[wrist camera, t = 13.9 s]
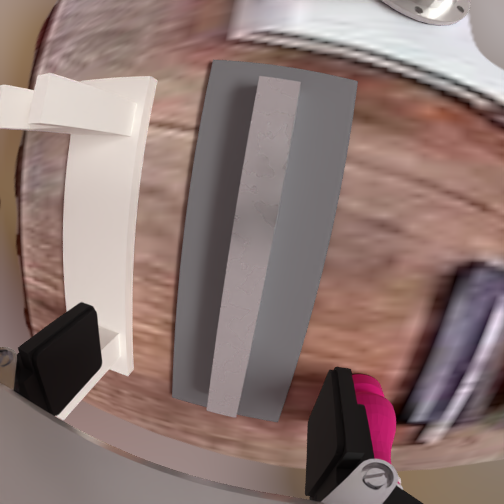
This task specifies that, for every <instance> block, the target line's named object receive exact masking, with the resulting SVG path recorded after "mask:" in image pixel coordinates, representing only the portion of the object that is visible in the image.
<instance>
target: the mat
mask: <svg viewBox="0 0 504 504" xmlns="http://www.w3.org/2000/svg"><path fill="white" fill-rule="evenodd" d="M259 76H265V77H272V78H279V79H286V80H292V81H298V82H301V86H300V95H299V101H298V106H297V112H296V118H295V124H294V130H293V135H292V141H291V147H290V152H289V158H288V163H287V169H286V175H285V180H284V185H283V191H282V196H281V202H280V207H279V212H278V218H277V223H276V228H275V233H274V239H273V244H272V249H271V254H270V259H269V264H268V270H267V275H266V280H265V285H264V290H263V295H262V300H261V305H260V310H259V314H258V319H257V324H256V329H255V334H254V339H253V344H252V348H251V353H250V358H249V363H248V367H247V372H246V377H245V381H244V386H243V391H242V395H241V400H240V404H239V408H238V412H237V414H238V415H242V416H247V417H252V418H257V419H262V420H268V421H273V422H278V420H279V417H280V414H281V411H282V408H283V405H284V402H285V399H286V396H287V393H288V390H289V387H290V384H291V381H292V378H293V375H294V371H295V368H296V365H297V362H298V358H299V355H300V352H301V348H302V345H303V342H304V338H305V335H306V331H307V328H308V324H309V320H310V317H311V313H312V309H313V306H314V302H315V298H316V294H317V291H318V287H319V283H320V279H321V275H322V271H323V267H324V262H325V258H326V254H327V250H328V245H329V241H330V237H331V232H332V228H333V223H334V218H335V214H336V209H337V204H338V199H339V194H340V189H341V184H342V179H343V173H344V168H345V162H346V156H347V151H348V145H349V139H350V132H351V126H352V119H353V113H354V106H355V98H356V91H357V83H358V81H354V80H350V79H346V78H342V77H337V76H333V75H328V74H324V73H319V72H313V71H308V70H302V69H296V68H290V67H284V66H276V65H269V64H260V63H251V62H240V61H227V60H213V63H212V68H211V72H210V77H209V82H208V87H207V91H206V96H205V102H204V107H203V112H202V117H201V123H200V128H199V134H198V140H197V146H196V152H195V158H194V164H193V170H192V177H191V184H190V191H189V198H188V205H187V213H186V221H185V229H184V237H183V246H182V256H181V265H180V276H179V287H178V298H177V311H176V326H175V342H174V362H173V389H172V397H173V398H176V399H179V400H183V401H186V402H190V403H193V404H197V405H201V406H204V407H207V404H208V396H209V388H210V380H211V373H212V365H213V358H214V351H215V343H216V336H217V329H218V322H219V315H220V308H221V301H222V295H223V288H224V281H225V275H226V268H227V262H228V255H229V249H230V242H231V236H232V230H233V224H234V217H235V211H236V205H237V199H238V193H239V187H240V181H241V175H242V170H243V164H244V158H245V152H246V147H247V141H248V135H249V130H250V124H251V119H252V113H253V108H254V102H255V97H256V92H257V86H258V81H259Z"/></svg>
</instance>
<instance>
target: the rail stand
mask: <svg viewBox="0 0 504 504" xmlns="http://www.w3.org/2000/svg"><path fill="white" fill-rule="evenodd" d="M157 81H158V80H156V79H154V78H153V77H151V76H138V77H118V78H105V79H94V80H85V81H81V82H78V81H75V80H72V79H69V78H66V77H63V76H59V75H56V74H53V73H47V74H43V75H38V77H37V81H36V85H35V90H30V89H25V88H20V87H15V86H9V85H0V129H12V130H29V131H43V132H55V133H65V134H71V137H70V144H69V152H68V160H67V169H66V180H65V194H64V213H63V266H64V286H65V300H66V310H67V311H69V310H70V309H71V308H73V307H74V306H76V305H77V304H78V303H80V302H83V303H86V304H89V305H91V306H93V307H94V309H95V311H96V312H97V317H98V328H99V338H100V347H101V355H102V366H101V368H100V369H99V371H98V372H97V373H96V374H95V375H94V376H93V377H92V378H91V379H90V380H89V382H88V383H87V384H86V385H85V386H84V387H83V388H82V389H81V390H80V392H79V393H78V394H77V395H76V396H75V397H74V398H73V399H72V400H71V402H70V403H69V404H68V405H67V406H66V407H65V408H64V410H63V411H62V412H61V413H60V414H59V415H57V417H59V418H61V419H62V420H64V419H65V418H66V417H67V416H68V415H69V414H70V412H71V411H72V410H73V409H74V408H75V407H76V406H77V404H78V403H79V402H80V401H81V400H82V399H83V398H84V397H85V395H86V394H87V393H88V392H89V391H90V390H91V389H92V388H93V386H94V385H95V384H96V383H97V382H98V381H99V380H100V379H101V377H102V376H103V375H104V374H105V373H106V372H107V371H108V370H109V369H110V370H113V371H115V372H118V373H121V374H123V375H126V376H129V374H130V373H131V372H132V371H133V369H134V365H133V337H132V291H133V262H134V244H135V230H136V218H137V207H138V197H139V188H140V180H141V172H142V165H143V157H144V151H145V144H146V138H147V132H148V126H149V121H150V115H151V110H152V105H153V100H154V95H155V90H156V86H157Z"/></svg>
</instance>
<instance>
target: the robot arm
mask: <svg viewBox="0 0 504 504" xmlns="http://www.w3.org/2000/svg"><path fill="white" fill-rule="evenodd" d="M381 1H383V2H384V3H385V4H387V5H389V6H390V7H392V8H393V9H395V10H396V11H398V12H400V13H402V14H404V15H406V16H408V17H410V18H413V19H415V20H418V21H421V22H425V23H428V24H433V25H451V24H454V23H457V22H458V21H460V20H461V19H463V18H464V17H465V16H466V15H467V13H468V11H469V9H470V0H381ZM18 350H19V353H18V354H16V353H15V351H14V350H12V349H11V348H8V347H0V504H423V503H421V502H420V501H418V500H417V499H415V498H414V497H412V496H411V495H410V494H408V493H407V492H405V491H404V490H402V489H401V488H400V487H398V486H397V483H398V474H397V471H396V470H395V468H394V467H393V466H392V465H391V464H390V463H388V462H386V461H384V460H380V459H375V458H374V452H373V446H372V440H371V434H370V429H369V423H368V418H367V413H366V408H365V406H364V405H363V404H357V399H356V393H355V388H354V382H353V377H352V372H351V369H348V368H341V367H335V369H334V370H329V372H328V374H327V376H326V379H325V382H324V384H323V386H322V389H321V391H320V394H319V396H318V399H317V401H316V403H315V406H314V408H313V410H312V413H311V415H310V417H309V421H308V433H307V463H306V484H305V485H306V486H305V495H306V496H310V500H307V499H302V498H296V497H290V496H284V495H278V494H271V493H266V492H260V491H255V490H250V489H245V488H240V487H236V486H231V485H227V484H222V483H218V482H214V481H210V480H207V479H203V478H199V477H196V476H192V475H189V474H186V473H182V472H179V471H176V470H173V469H170V468H167V467H164V466H161V465H158V464H155V463H153V462H150V461H147V460H145V459H142V458H140V457H137V456H135V455H132V454H130V453H127V452H125V451H122V450H120V449H118V448H116V447H113V446H111V445H109V444H107V443H105V442H102V441H100V440H98V439H96V438H94V437H92V436H90V435H88V434H86V433H84V432H82V431H80V430H78V429H76V428H74V427H73V426H71V425H69V424H67V423H65V422H64V421H62V420H60V419H58V418H57V417H55V416H57V415H59V414H60V413H61V412H62V411H63V410H64V408H65V407H66V406H67V405H68V404H69V403H70V402H71V400H72V399H73V398H74V397H75V396H76V395H77V394H78V393H79V392H80V390H81V389H82V388H83V387H84V386H85V385H86V384H87V383H88V382H89V380H90V379H91V378H92V377H93V376H94V375H95V374H96V373H97V372H98V371H99V369H100V368H101V366H102V355H101V347H100V338H99V328H98V317H97V312H96V311H95V309H94V307H93V306H91V305H89V304H86V303H83V302H80V303H78V304H77V305H76V306H74V307H73V308H71V309H70V310H69V311H67V312H66V313H64V314H63V315H62V316H60V317H59V318H57V319H56V320H55V321H53V322H52V323H50V324H49V325H48V326H46V327H45V328H44V329H42V330H41V331H40V332H38V333H37V334H36V335H34V336H33V337H32V338H30V339H29V340H28V341H26V342H25V343H24V344H22V345H21V346H20V347H18Z"/></svg>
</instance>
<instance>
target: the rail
mask: <svg viewBox="0 0 504 504" xmlns="http://www.w3.org/2000/svg"><path fill="white" fill-rule="evenodd" d="M300 86H301V82H298V81H292V80H286V79H279V78H272V77H265V76H259V81H258V86H257V92H256V97H255V102H254V108H253V113H252V119H251V124H250V130H249V135H248V141H247V147H246V152H245V158H244V164H243V170H242V175H241V181H240V187H239V193H238V199H237V205H236V211H235V217H234V224H233V230H232V236H231V242H230V249H229V255H228V262H227V268H226V275H225V281H224V288H223V295H222V301H221V308H220V315H219V322H218V329H217V336H216V343H215V351H214V358H213V365H212V373H211V380H210V388H209V396H208V404H207V411H210V412H214V413H218V414H222V415H226V416H230V417H235V418H236V416H237V412H238V408H239V404H240V400H241V395H242V391H243V386H244V381H245V377H246V372H247V367H248V363H249V358H250V353H251V348H252V344H253V339H254V334H255V329H256V324H257V319H258V314H259V310H260V305H261V300H262V295H263V290H264V285H265V280H266V275H267V270H268V264H269V259H270V254H271V249H272V244H273V239H274V233H275V228H276V223H277V218H278V212H279V207H280V202H281V196H282V191H283V185H284V180H285V175H286V169H287V163H288V158H289V152H290V147H291V141H292V135H293V130H294V124H295V118H296V112H297V106H298V101H299V95H300Z"/></svg>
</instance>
